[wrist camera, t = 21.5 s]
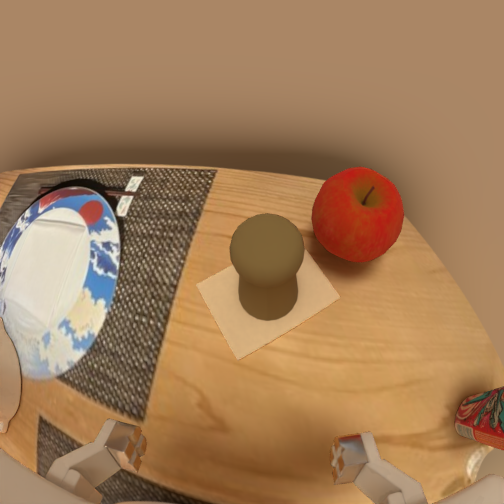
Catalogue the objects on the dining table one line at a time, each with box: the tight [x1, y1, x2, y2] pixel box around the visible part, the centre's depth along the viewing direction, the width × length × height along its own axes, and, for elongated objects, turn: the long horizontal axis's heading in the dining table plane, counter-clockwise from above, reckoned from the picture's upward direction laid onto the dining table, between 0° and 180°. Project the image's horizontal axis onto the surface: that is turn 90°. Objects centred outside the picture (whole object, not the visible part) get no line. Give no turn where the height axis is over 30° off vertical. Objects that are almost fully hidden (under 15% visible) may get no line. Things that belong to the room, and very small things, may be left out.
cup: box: [455, 386, 504, 450], centre depth 14 cm, size 9×8×12 cm
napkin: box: [196, 249, 340, 360], centre depth 28 cm, size 12×9×1 cm
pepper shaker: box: [230, 213, 305, 321], centre depth 23 cm, size 6×6×11 cm
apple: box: [312, 167, 404, 262], centre depth 25 cm, size 9×8×11 cm
